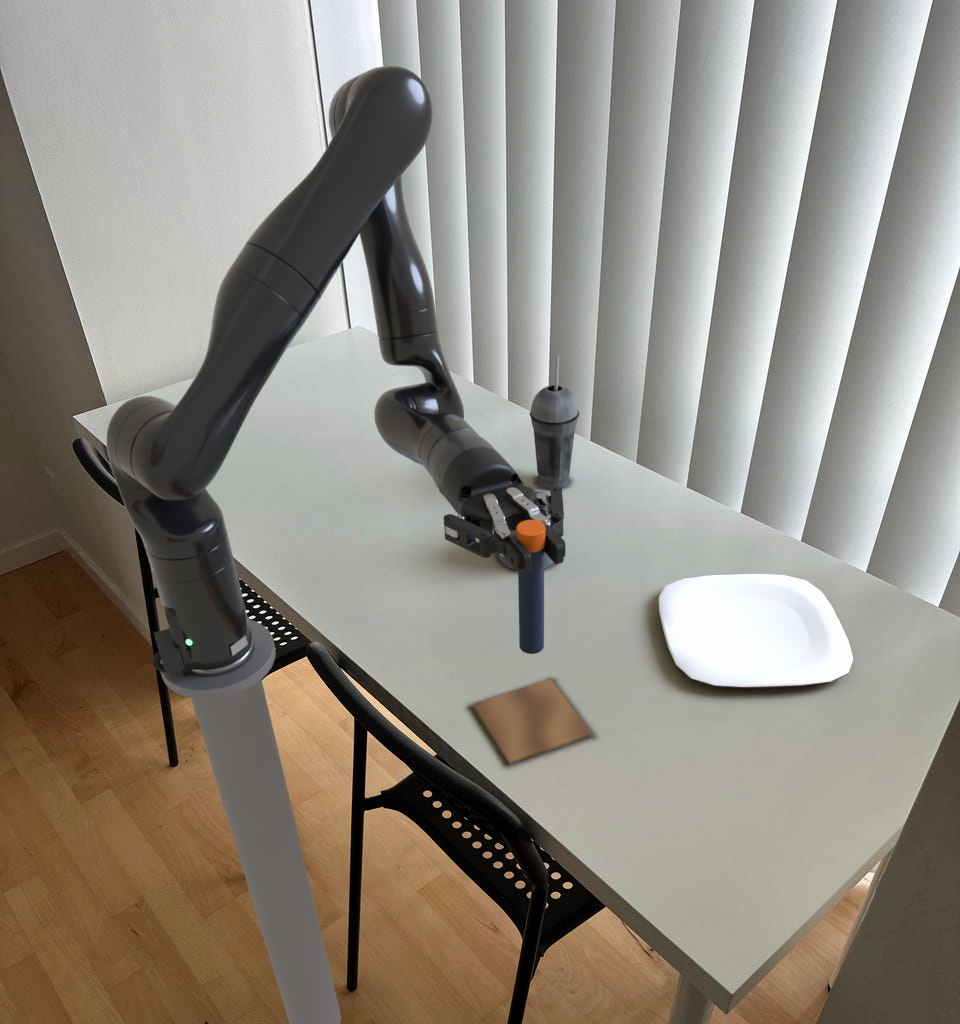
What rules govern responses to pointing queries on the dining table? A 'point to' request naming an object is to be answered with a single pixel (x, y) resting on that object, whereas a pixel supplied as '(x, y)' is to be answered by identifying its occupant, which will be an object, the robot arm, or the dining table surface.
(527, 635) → the marker
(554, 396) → the beverage cup
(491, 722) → the mat
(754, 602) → the plate
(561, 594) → the dining table surface
